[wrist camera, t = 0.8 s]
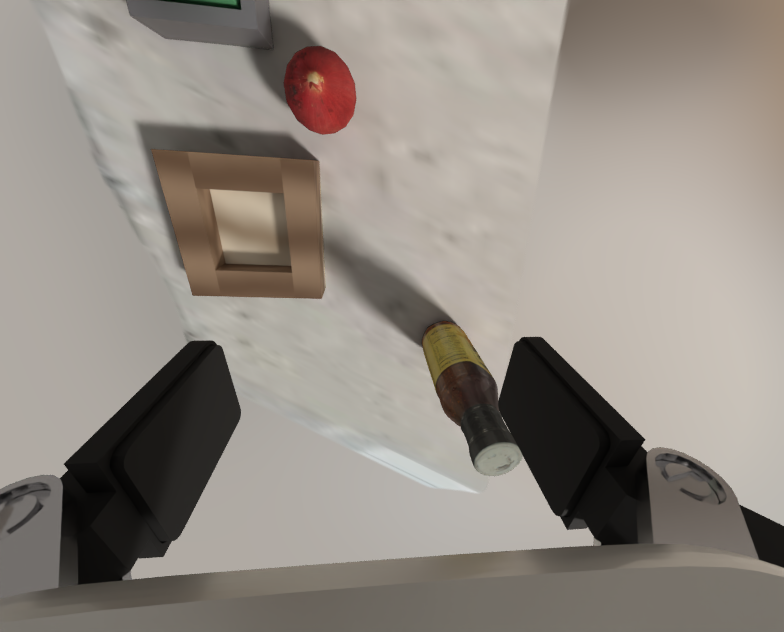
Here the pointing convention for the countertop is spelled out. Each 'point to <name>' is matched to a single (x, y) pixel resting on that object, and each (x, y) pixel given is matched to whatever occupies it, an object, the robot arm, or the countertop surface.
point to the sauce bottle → (470, 398)
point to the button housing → (207, 22)
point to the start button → (211, 3)
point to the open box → (246, 223)
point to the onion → (320, 90)
